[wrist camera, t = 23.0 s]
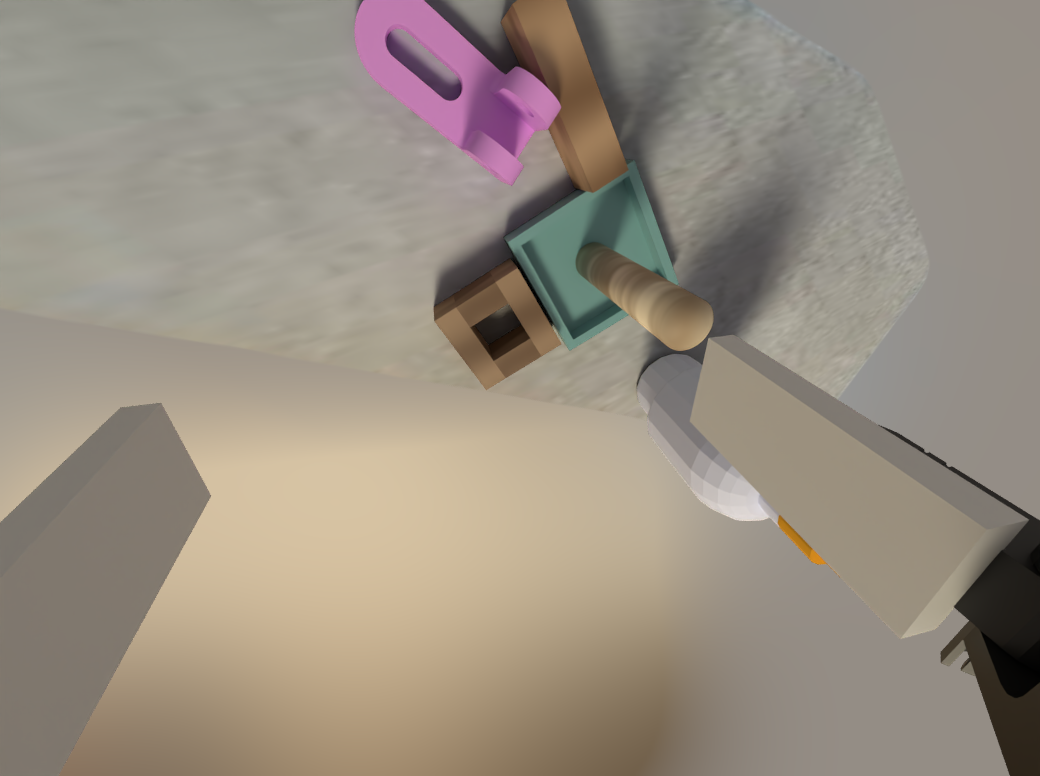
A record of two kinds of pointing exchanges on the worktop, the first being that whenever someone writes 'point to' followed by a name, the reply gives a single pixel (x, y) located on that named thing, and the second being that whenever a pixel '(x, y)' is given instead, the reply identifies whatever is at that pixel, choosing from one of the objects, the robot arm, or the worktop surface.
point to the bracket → (484, 89)
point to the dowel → (647, 297)
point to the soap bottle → (700, 447)
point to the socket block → (481, 302)
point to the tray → (571, 225)
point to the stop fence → (567, 90)
